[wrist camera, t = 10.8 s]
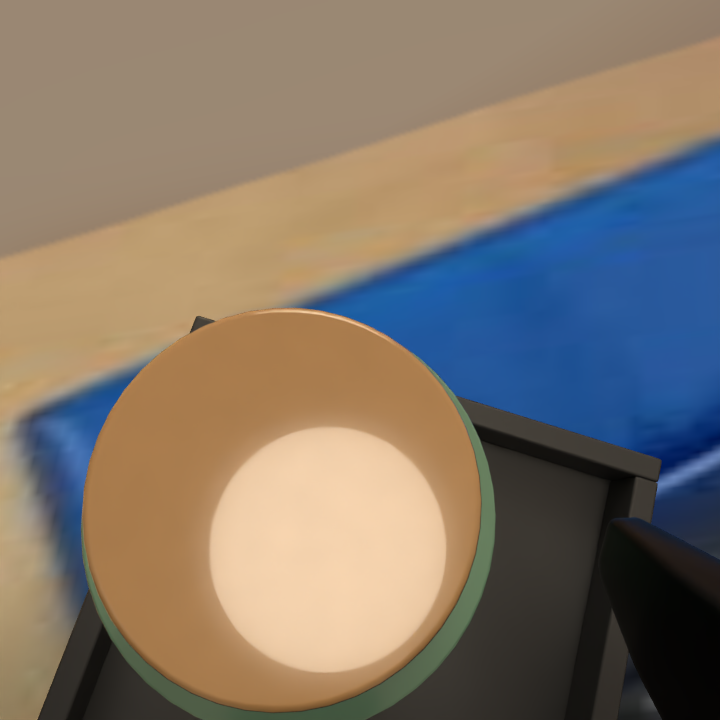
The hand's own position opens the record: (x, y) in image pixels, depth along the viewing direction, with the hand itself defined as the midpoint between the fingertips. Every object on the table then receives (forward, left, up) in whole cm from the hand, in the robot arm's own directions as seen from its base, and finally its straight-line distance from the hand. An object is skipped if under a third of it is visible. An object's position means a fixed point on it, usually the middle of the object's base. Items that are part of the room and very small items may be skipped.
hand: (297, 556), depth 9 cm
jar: (+1, 0, -8) cm, 8 cm away
